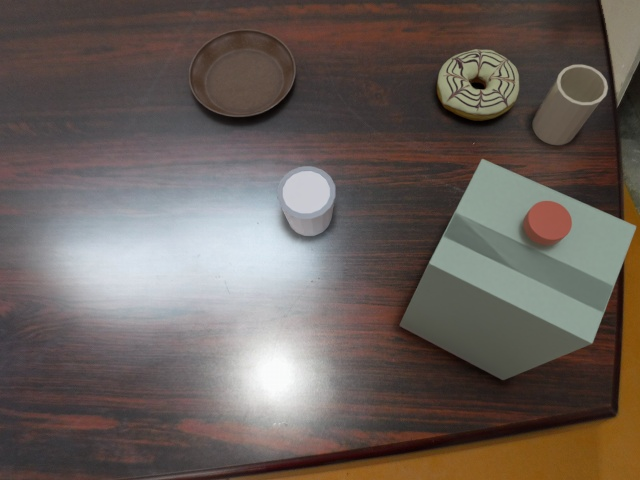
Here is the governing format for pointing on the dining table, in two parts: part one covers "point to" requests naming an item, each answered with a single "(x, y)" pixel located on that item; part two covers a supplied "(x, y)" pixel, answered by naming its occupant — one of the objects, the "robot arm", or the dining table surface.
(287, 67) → the saucer
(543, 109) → the cream cup
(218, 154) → the dining table surface
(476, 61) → the decorated donut
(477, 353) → the box with red button
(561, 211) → the brew button
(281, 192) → the white short cylinder
